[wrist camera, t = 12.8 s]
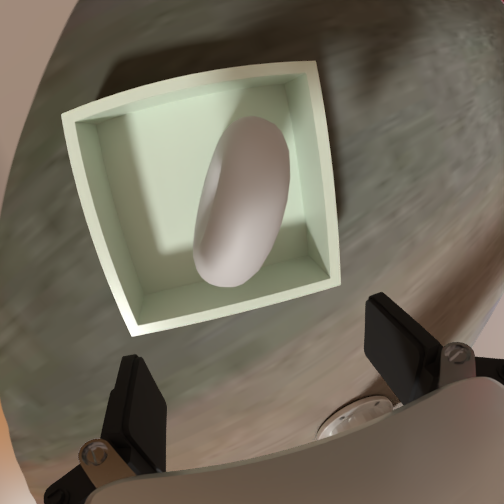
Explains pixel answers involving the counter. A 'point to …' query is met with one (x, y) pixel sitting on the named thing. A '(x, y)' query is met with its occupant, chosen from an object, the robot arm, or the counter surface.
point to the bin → (200, 190)
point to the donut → (241, 202)
